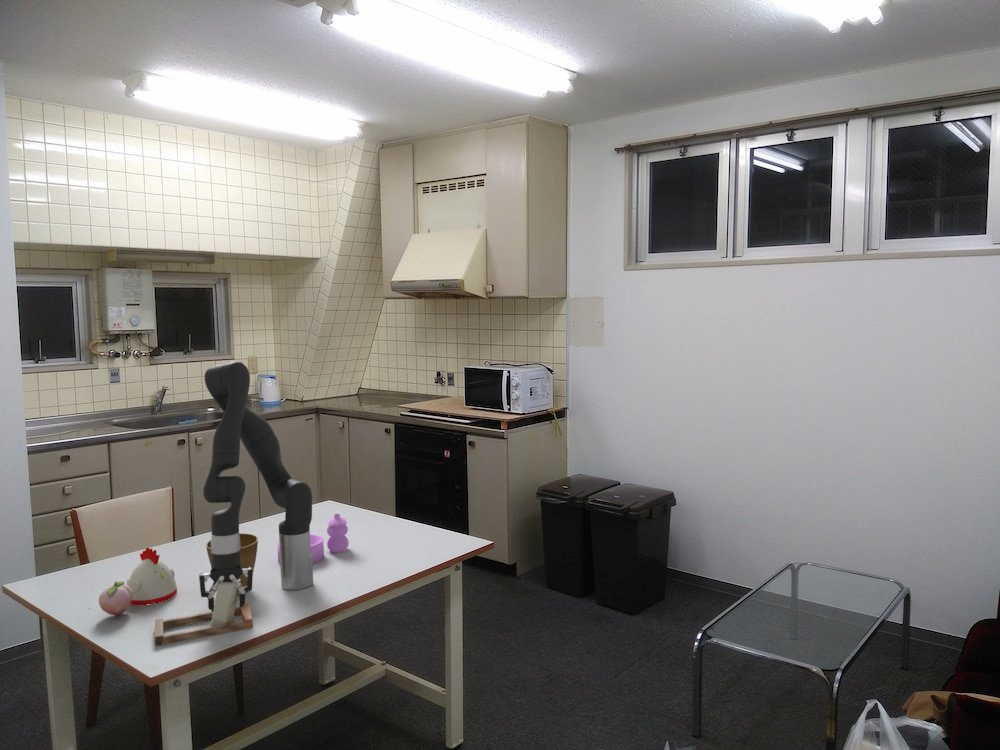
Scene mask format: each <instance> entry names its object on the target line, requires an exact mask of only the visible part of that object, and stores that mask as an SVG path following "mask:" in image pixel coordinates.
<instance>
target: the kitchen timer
mask: <svg viewBox="0 0 1000 750" xmlns="http://www.w3.org/2000/svg"><path fill="white" fill-rule="evenodd" d="M139 556H140V559H141V561H140V562H139V563H138V564H137V565H136V566H135V568H134V569H133V570H132V572H131V574H130V576H129V579H126V585H128V586H129V587H130V588H131V589H132V591H133V597H132V600H131V603H130V604H132V606H135V605H145V606H148V605H147V604H153V605H155V604H154V603H158V604H160V603H159V602H161V603H163V602H162V601H164V602H166V601H165V600H167V601H169V600H171V599H172V598H171V597H173V596H174V595H175V594H176V593H177V592H178V586H177V583H176V579H175V576H176V575H175V571H174V569H173V568H169V567H168V566H167V564H166V563H165V562H163V561H162V560H160V556H161V555H160V554H157V550H156V549H154V550H153V548H152V547H151V548H150V547H146V548H145V549H144V550H143V551H142V552H141V553H139ZM176 595H177V594H176ZM176 595H175V596H176ZM175 596H174V597H175ZM174 597H173V598H174ZM170 598H171V599H170ZM168 599H169V600H168Z"/></svg>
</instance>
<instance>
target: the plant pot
mask: <svg viewBox="0 0 1000 750" xmlns="http://www.w3.org/2000/svg"><path fill="white" fill-rule="evenodd" d="M239 535H240V544H241V547H240V556H241V568H242V569H246V568H248V567H251V568H252V570H253V572H254V570H255V565H256V559H257V554H258V543H259V538H258V536H257V535H255V534H253V533H245V532H244V533H243V532H241V533H240V532H239ZM205 548H206V553H207V557H208V561H209V564H210V565H211V539H210V540H208V541H207V542H206V543H205ZM239 579H241V582H240V583H241V584H242V586H243V587H244V586H246V585H247V577H246V576H245V574H244V573H242V575H241V576H240V577H239ZM239 592H240V591H239ZM239 592H238V596H239Z"/></svg>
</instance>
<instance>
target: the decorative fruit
mask: <svg viewBox="0 0 1000 750" xmlns="http://www.w3.org/2000/svg"><path fill="white" fill-rule="evenodd" d="M132 597H133V591H132V589H131V588H130V587H129V586H128V585H127V583H126V582H125V581H122V580H119V581H114V584H111V585H108V586H107V587H106V588H103V590H102V591H101V593H100V594H99V597H98V604H99V607H100V608H101V610H102V611H103V612H105V613H106V614H108V615H112V616H116V617H117V616H121V615H122V614H123V613H125V611H126V610H127V609H128V608H129V606H131V605H130V603H131V600H132Z"/></svg>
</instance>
